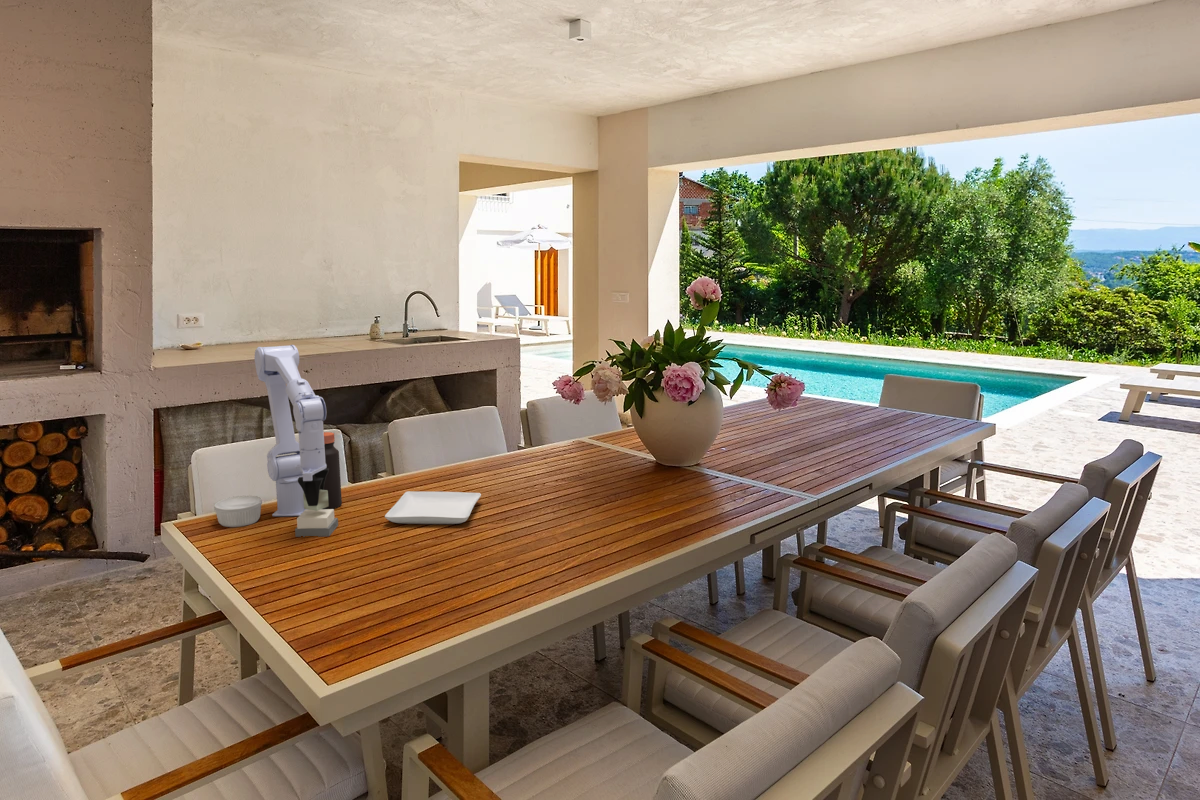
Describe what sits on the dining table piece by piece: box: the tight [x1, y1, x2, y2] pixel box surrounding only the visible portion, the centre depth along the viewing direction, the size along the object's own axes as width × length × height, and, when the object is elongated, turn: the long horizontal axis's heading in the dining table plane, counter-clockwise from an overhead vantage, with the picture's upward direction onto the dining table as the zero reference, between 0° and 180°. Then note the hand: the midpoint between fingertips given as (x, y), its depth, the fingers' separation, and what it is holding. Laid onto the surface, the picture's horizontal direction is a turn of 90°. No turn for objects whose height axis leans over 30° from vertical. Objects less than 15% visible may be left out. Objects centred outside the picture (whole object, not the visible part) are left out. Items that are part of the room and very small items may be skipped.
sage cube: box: [303, 489, 329, 511], centre depth 192 cm, size 4×4×4 cm
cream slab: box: [296, 508, 335, 529], centre depth 193 cm, size 7×7×2 cm
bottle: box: [323, 431, 343, 509], centre depth 211 cm, size 7×7×20 cm
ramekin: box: [213, 495, 263, 528], centre depth 200 cm, size 11×11×5 cm
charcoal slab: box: [294, 517, 339, 538], centre depth 193 cm, size 8×8×2 cm
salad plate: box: [384, 490, 482, 525], centre depth 206 cm, size 21×21×3 cm
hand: (315, 501), depth 192 cm, fingers closed on sage cube, 5 cm apart
